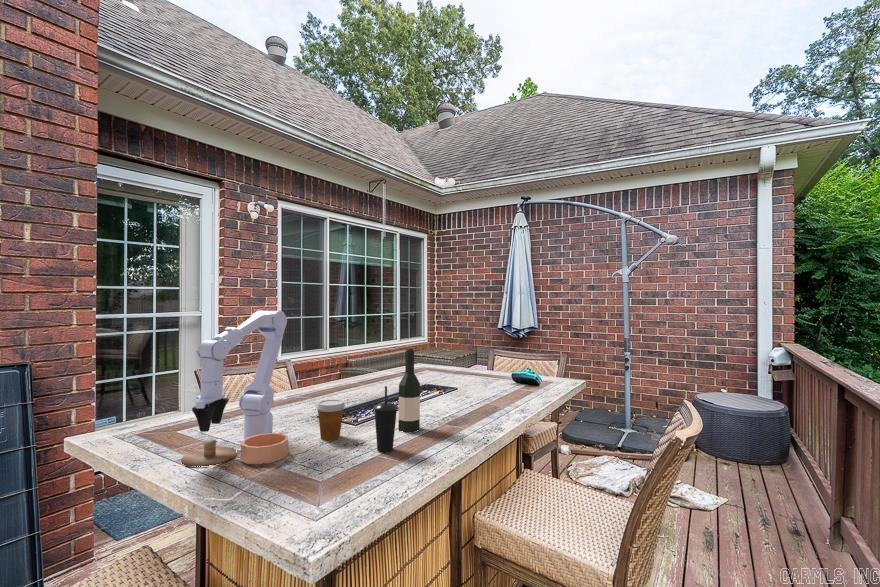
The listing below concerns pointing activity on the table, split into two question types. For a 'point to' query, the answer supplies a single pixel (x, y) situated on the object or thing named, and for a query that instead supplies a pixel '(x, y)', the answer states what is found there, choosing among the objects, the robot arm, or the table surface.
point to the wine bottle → (409, 397)
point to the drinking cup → (385, 424)
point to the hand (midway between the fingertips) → (210, 427)
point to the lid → (209, 455)
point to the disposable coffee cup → (330, 418)
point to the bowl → (264, 448)
